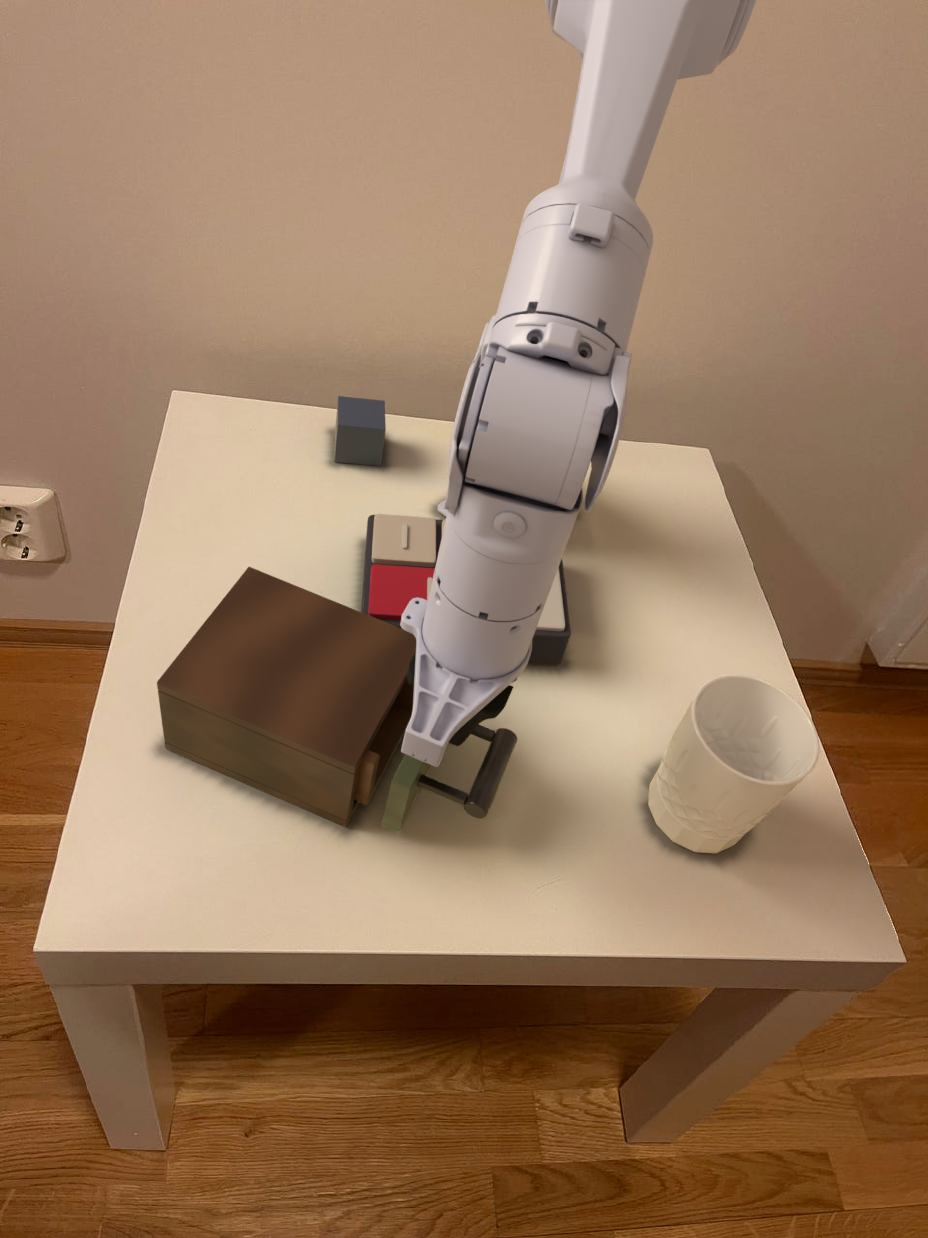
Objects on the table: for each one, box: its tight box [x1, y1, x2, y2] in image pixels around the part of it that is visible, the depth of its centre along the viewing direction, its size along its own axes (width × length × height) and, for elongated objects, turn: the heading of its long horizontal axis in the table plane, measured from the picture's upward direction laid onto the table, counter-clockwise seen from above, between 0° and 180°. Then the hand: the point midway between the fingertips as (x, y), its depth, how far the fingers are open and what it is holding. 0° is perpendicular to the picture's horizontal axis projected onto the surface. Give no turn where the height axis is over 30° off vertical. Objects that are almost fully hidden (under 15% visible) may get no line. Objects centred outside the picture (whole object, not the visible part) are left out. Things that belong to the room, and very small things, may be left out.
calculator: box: [360, 513, 572, 666], centre depth 68 cm, size 11×4×15 cm
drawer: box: [354, 679, 518, 833], centre depth 57 cm, size 16×9×5 cm, turn 69°
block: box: [333, 395, 387, 467], centre depth 78 cm, size 4×4×4 cm
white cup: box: [647, 673, 820, 854], centre depth 58 cm, size 8×8×10 cm
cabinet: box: [156, 566, 416, 828], centre depth 58 cm, size 13×11×7 cm
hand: (447, 732), depth 55 cm, fingers closed, pressing on drawer
